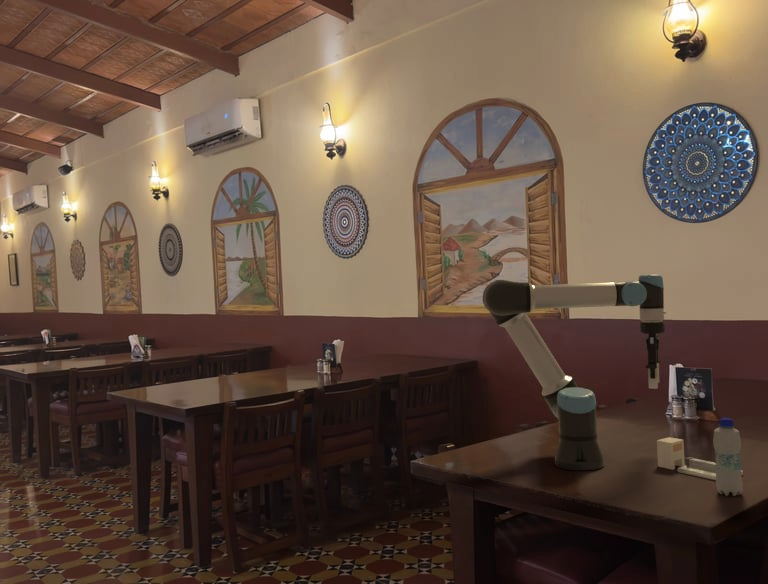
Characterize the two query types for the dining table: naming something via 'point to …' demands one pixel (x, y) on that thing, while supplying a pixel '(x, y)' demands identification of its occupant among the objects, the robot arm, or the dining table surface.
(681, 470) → the rail board
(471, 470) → the dining table surface
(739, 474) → the bottle
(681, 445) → the block
